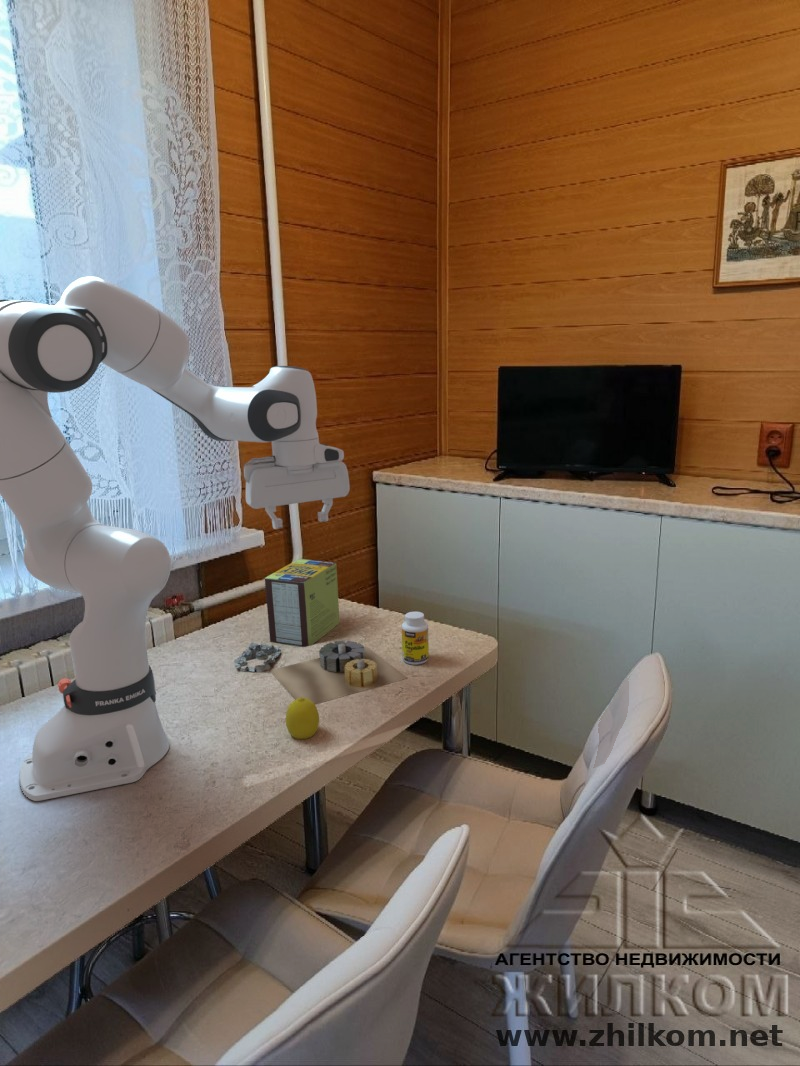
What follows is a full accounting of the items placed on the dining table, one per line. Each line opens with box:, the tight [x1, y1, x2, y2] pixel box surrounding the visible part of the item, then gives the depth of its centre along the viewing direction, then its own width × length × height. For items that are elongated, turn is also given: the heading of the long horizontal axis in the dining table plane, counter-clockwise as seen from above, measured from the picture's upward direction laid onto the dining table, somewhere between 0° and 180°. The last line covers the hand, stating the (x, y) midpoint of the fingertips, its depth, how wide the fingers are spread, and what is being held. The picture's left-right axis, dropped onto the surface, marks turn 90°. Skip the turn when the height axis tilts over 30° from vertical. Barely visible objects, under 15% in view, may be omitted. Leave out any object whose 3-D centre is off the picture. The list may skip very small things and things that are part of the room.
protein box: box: [264, 558, 340, 648], centre depth 162 cm, size 10×15×16 cm
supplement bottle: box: [401, 611, 430, 666], centre depth 147 cm, size 6×6×10 cm
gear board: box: [268, 644, 408, 705], centre depth 139 cm, size 22×18×6 cm
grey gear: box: [318, 640, 365, 672], centre depth 144 cm, size 9×9×3 cm
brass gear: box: [344, 659, 377, 687], centre depth 136 cm, size 6×6×3 cm
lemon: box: [285, 697, 320, 740], centre depth 118 cm, size 6×6×8 cm
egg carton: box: [233, 642, 282, 673], centre depth 146 cm, size 11×8×4 cm
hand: (300, 524), depth 136 cm, fingers open, 8 cm apart
